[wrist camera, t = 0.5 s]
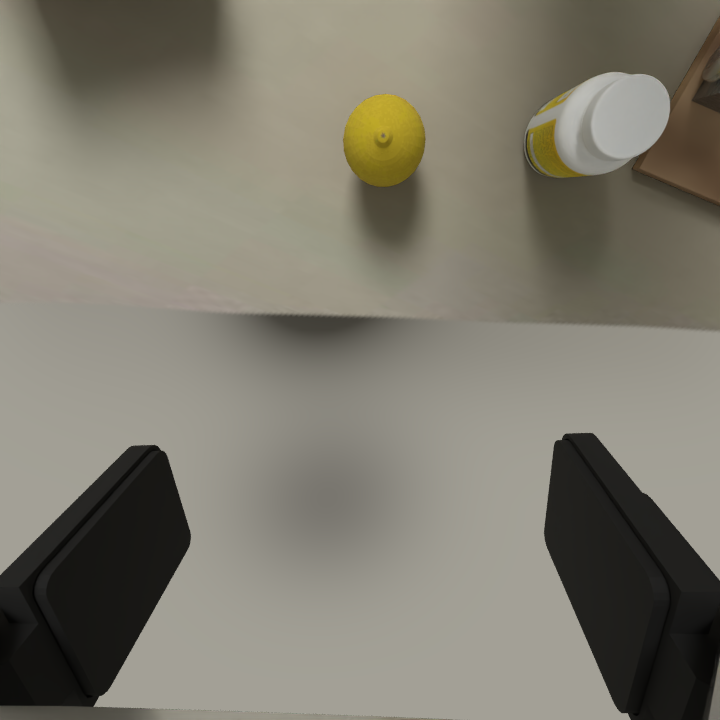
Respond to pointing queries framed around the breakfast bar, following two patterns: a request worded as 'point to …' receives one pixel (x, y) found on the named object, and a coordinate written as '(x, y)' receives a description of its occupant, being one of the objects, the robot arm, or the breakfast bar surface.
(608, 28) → the breakfast bar surface
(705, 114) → the octagonal ring mount
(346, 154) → the lemon
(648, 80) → the supplement bottle
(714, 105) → the shaft
